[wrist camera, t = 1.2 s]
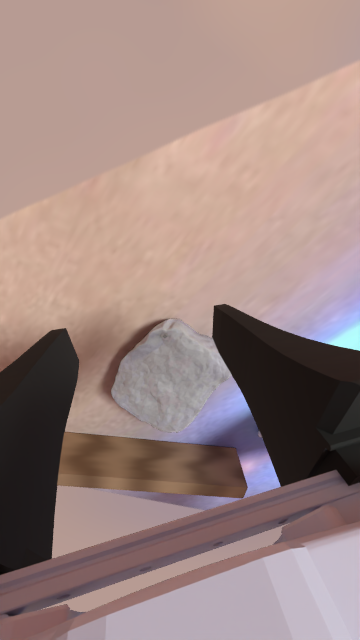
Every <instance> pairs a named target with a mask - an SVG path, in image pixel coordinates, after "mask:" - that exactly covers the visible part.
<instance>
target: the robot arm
mask: <svg viewBox="0 0 360 640" xmlns="http://www.w3.org/2000/svg"><path fill="white" fill-rule="evenodd" d="M212 338H213V340H214V343H215V345H216V348H217V350H218V352H219V354H220V356H221V358H222V359H223V361H224V363H225V364H226V366H227V368H228V369H229V371H230V373H231V374H232V376H233V378H234V379H235V381H236V383H237V384H238V386H239V388H240V390H241V392H242V393H243V395H244V397H245V400H246V402H247V404H248V406H249V408H250V410H251V413H252V415H253V417H254V420H255V422H256V424H257V426H258V429H259V431H258V436H259V437H261V438H263V441H264V443H265V446H266V448H267V451H268V453H269V456H270V458H271V461H272V464H273V466H274V469H275V472H276V474H277V477H278V480H279V483H280V485H281V487H279V488H276V489H273V490H270V491H267V492H263V493H260V494H257V495H254V496H251V497H247V498H244V499H241V500H238V501H235V502H232V503H228V504H225V505H222V506H219V507H216V508H212V509H209V510H206V511H203V512H200V513H197V514H193V515H190V516H187V517H184V518H181V519H177V520H174V521H171V522H168V523H165V524H162V525H158V526H155V527H152V528H149V529H146V530H142V531H139V532H136V533H133V534H130V535H127V536H123V537H120V538H117V539H114V540H111V541H108V542H104V543H101V544H98V545H95V546H92V547H88V548H85V549H82V550H79V551H76V552H73V553H70V554H66V555H63V556H60V557H57V558H53V559H52V543H53V528H54V514H55V503H56V492H57V482H58V474H59V466H60V457H61V451H62V444H63V437H64V432H65V427H66V423H67V419H68V415H69V411H70V407H71V403H72V399H73V395H74V391H75V387H76V383H77V378H78V369H79V359H78V357H77V354H76V352H75V349H74V347H73V345H72V342H71V340H70V337H69V335H68V332H67V330H66V328H64V329H57V330H52V331H50V332H49V333H47V334H46V335H45V336H44V337H42V338H41V339H40V340H39V341H38V342H37V343H35V344H34V345H33V346H32V347H31V348H30V349H28V350H27V351H26V352H25V353H24V354H23V355H21V356H20V357H19V358H18V359H17V360H15V361H14V362H13V363H12V364H10V365H9V366H8V367H7V368H5V369H4V370H3V371H2V372H0V640H360V351H358V350H353V349H348V348H343V347H338V346H334V345H329V344H325V343H321V342H318V341H314V340H310V339H307V338H304V337H300V336H297V335H294V334H292V333H289V332H286V331H283V330H281V329H278V328H276V327H273V326H271V325H269V324H266V323H264V322H262V321H260V320H258V319H255V318H253V317H251V316H249V315H247V314H245V313H243V312H241V311H239V310H237V309H235V308H233V307H231V306H229V305H226V304H222V305H216V306H214V316H213V335H212ZM288 523H289V524H288ZM285 524H288V525H286V526H284V527H282V532H281V533H282V535H281V536H280V538H279V539H278V540H277V541H276V542H275V543H274V544H273V545H270V546H268V547H264V548H260V549H257V550H254V551H250V552H247V553H243V554H240V555H237V556H234V557H231V558H228V559H225V560H222V561H219V562H216V563H213V564H209V565H207V566H203V567H201V568H198V569H195V570H192V571H189V572H187V573H184V574H181V575H178V576H176V577H173V578H170V579H167V580H165V581H162V582H160V583H157V584H155V585H152V586H149V587H147V588H144V589H141V590H139V591H136V592H134V593H131V594H129V595H126V596H124V597H121V598H119V599H117V600H114V601H112V602H109V603H107V604H105V605H102V606H100V607H97V608H95V609H93V610H91V611H88V612H77V611H73V610H70V608H69V607H68V605H67V604H64V605H60V606H56V607H51V608H47V609H43V608H46V607H49V606H51V605H54V604H57V603H60V602H63V601H66V600H69V599H72V598H75V597H77V596H80V595H83V594H86V593H89V592H92V591H94V590H98V589H101V588H103V587H106V586H109V585H112V584H115V583H118V582H120V581H124V580H126V579H129V578H132V577H135V576H138V575H141V574H144V573H147V572H150V571H152V570H155V569H158V568H161V567H164V566H167V565H170V564H172V563H175V562H178V561H181V560H184V559H187V558H190V557H193V556H196V555H198V554H201V553H204V552H207V551H210V550H213V549H216V548H218V547H222V546H224V545H227V544H230V543H233V542H236V541H239V540H242V539H244V538H247V537H250V536H253V535H256V534H259V533H262V532H264V531H268V530H270V529H273V528H276V527H279V526H282V525H285ZM40 609H42V610H40ZM37 610H38V611H37Z"/></svg>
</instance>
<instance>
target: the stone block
mask: <svg viewBox="0 0 360 640" xmlns="http://www.w3.org/2000/svg"><path fill="white" fill-rule="evenodd" d="M230 376H231V373H230V371H229V369H228V368H227V366H226V364H225V363H224V361H223V359H222V358H221V356H220V354H219V352H218V350H217V348H216V345H215V343H214V340H213V338H211V337H208V336H206V335H201V334H199V333H197V332H196V331H195V330H193V329H192V328H191V327H190V326H189V325H188V324H186V323H184V322H183V321H182V320H180V319H168V320H165V321H163V322H162V323H160V324H158V325H156V326H155V327H154V328H153V329H152V330H151V331H150V332H149V333H148V334H147V335H146V336H145V337H144V338H143V339H142V341H141V342H139V343H138V344H137V345H136V346H135V347H134V349H132V350H131V351H130V352H128V354H127V355H126V356H125V357H124V358H123V359H122V360H121V362H120V365H119V369H118V373H117V374H116V376H115V382H114V384H113V386H112V388H111V389H112V390H111V395H112V397H113V399H115V401H116V403H117V404H118V405H119V406H120V407H122V408H123V409H125V410H127V411H128V412H129V413H131V414H132V415H134V416H135V417H137V418H138V419H139V420H140V421H143V422H146V423H149V424H150V425H151V426H152V427H154V428H156V429H158V430H160V431H163V432H168V433H171V432H176V433H178V432H179V431H182V430H183V429H185V428H186V427H188V426H189V425H190V423H191V422H192V421H193V420H194V418H195V417H196V416H197V415H198V413H199V412H200V410H201V409H202V407H203V406H204V404H205V402H206V400H207V399H208V397H209V396H210V395H211V393H212V392H213V391H214V390H215V389H216V388H217V387H218V386H219V384H221V383H222V382H224V381H226V380H227V379H228V378H229V377H230Z"/></svg>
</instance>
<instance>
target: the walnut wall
mask: <svg viewBox="0 0 360 640" xmlns="http://www.w3.org/2000/svg"><path fill="white" fill-rule="evenodd" d="M57 485H61V486H74V487H89V488H103V489H117V490H132V491H146V492H160V493H174V494H189V495H203V496H217V497H232V498H243V497H244V495H245V493H246V490H247V488H248V487H247V483H246V480H245V477H244V474H243V470H242V467H241V464H240V460H239V457H238V454H237V451H236V448H230V447H219V446H208V445H198V444H187V443H177V442H166V441H155V440H145V439H134V438H123V437H113V436H102V435H91V434H81V433H70V432H64V437H63V444H62V451H61V457H60V466H59V474H58V482H57Z"/></svg>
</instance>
